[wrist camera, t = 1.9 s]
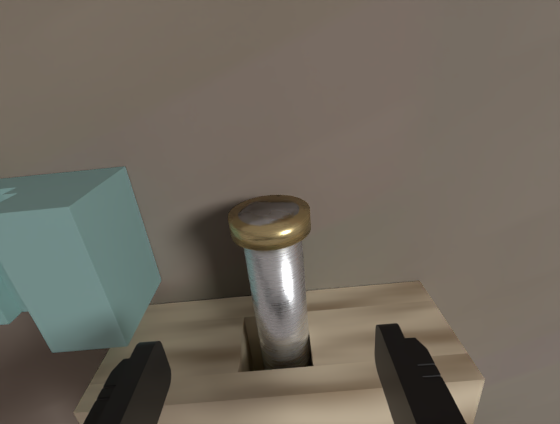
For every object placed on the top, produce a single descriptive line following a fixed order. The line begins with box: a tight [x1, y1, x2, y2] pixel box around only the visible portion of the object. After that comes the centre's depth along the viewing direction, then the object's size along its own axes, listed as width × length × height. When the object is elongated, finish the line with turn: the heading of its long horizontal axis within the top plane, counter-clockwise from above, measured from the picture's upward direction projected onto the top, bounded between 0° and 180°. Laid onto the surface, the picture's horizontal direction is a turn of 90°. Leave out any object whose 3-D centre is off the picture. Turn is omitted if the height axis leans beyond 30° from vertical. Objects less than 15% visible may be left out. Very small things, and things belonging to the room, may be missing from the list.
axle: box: [228, 195, 311, 370], centre depth 19 cm, size 18×4×4 cm, turn 5°
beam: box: [73, 281, 485, 424], centre depth 21 cm, size 9×20×8 cm, turn 95°
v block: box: [0, 166, 161, 353], centre depth 17 cm, size 8×13×6 cm, turn 96°
